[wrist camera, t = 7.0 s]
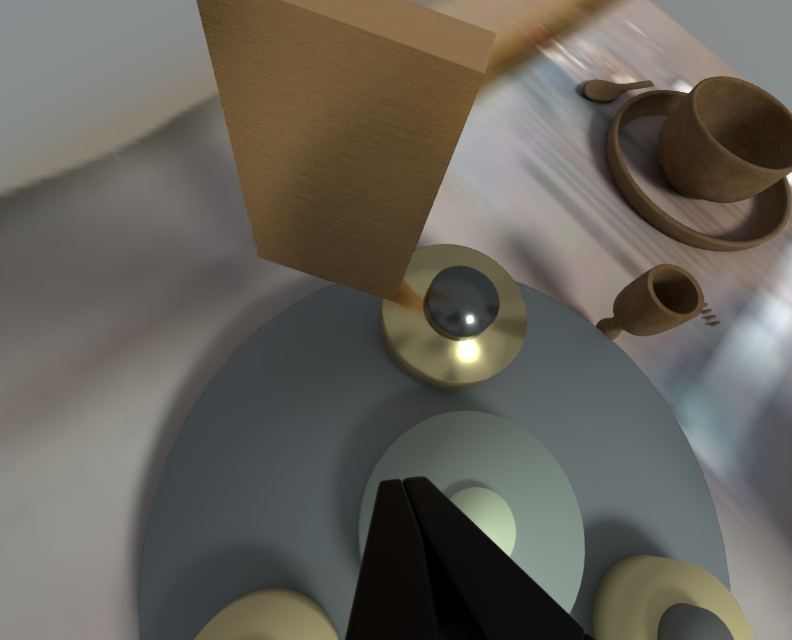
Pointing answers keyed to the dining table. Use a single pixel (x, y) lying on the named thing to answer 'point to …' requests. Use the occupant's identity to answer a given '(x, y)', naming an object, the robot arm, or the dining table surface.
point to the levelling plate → (445, 467)
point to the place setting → (698, 182)
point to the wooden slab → (366, 166)
